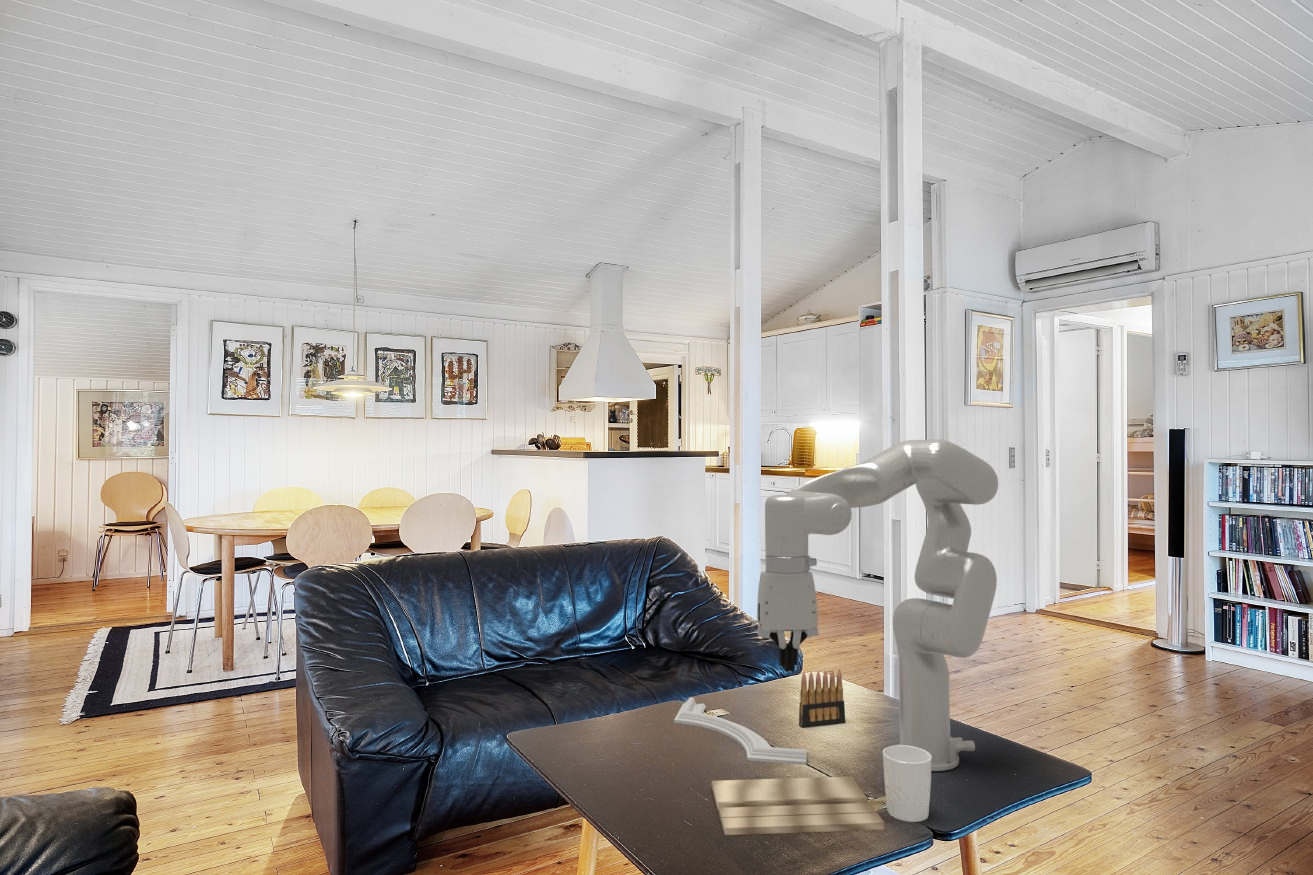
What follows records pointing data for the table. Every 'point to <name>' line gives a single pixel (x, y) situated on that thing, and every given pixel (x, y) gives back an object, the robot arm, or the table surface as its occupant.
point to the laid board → (800, 819)
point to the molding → (739, 735)
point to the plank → (787, 792)
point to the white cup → (907, 782)
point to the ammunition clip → (821, 701)
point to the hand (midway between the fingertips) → (788, 669)
